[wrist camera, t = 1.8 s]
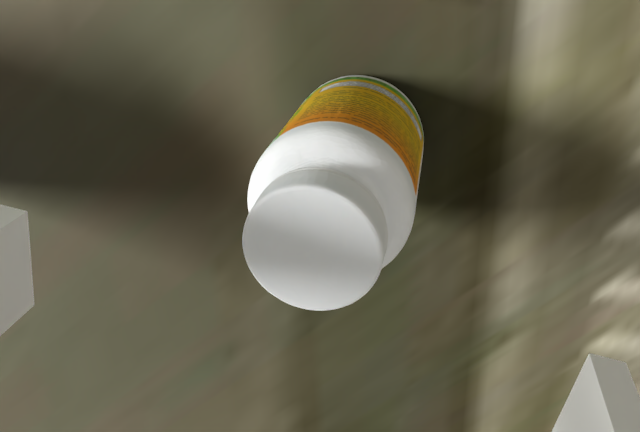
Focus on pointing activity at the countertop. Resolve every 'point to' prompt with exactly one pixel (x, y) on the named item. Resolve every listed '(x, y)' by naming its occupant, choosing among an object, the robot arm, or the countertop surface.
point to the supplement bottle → (335, 194)
